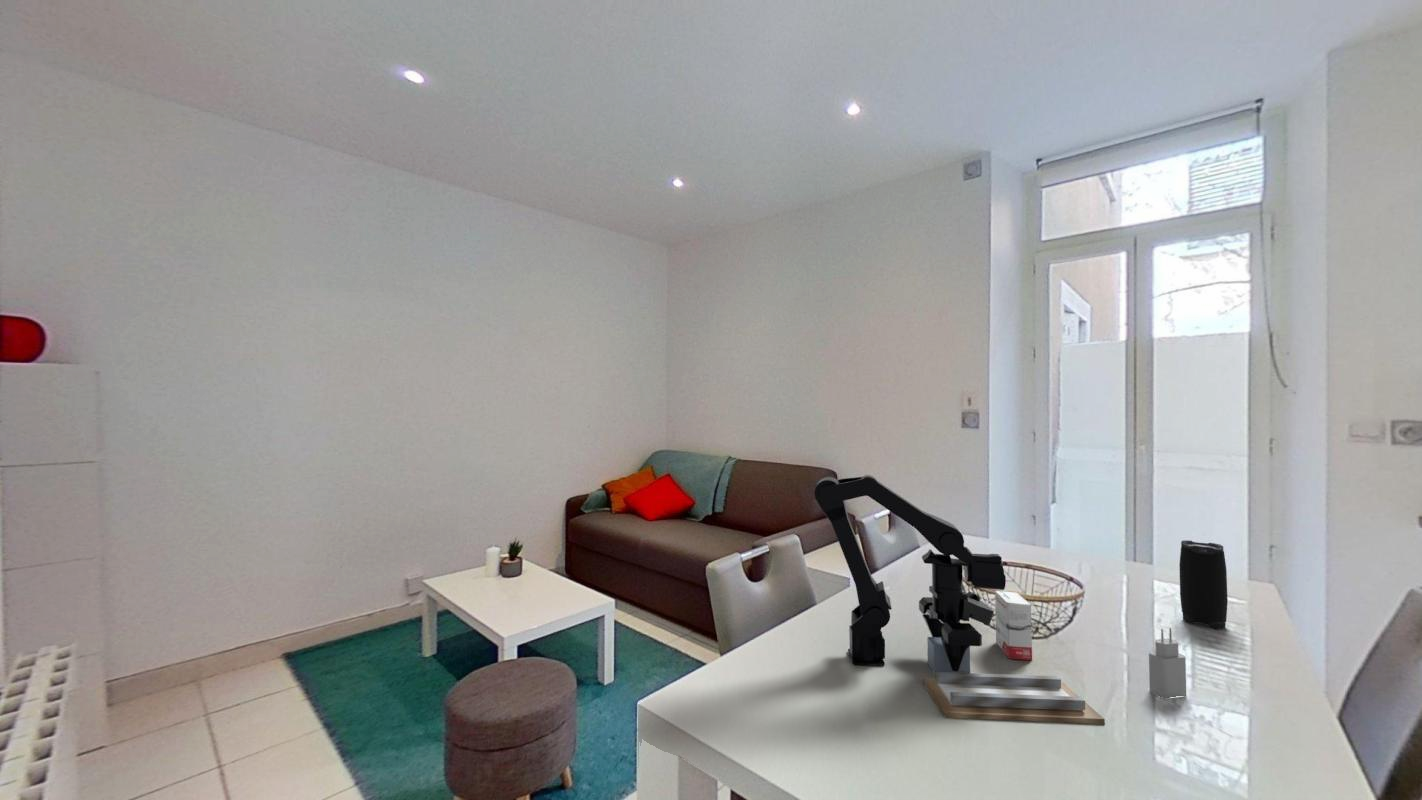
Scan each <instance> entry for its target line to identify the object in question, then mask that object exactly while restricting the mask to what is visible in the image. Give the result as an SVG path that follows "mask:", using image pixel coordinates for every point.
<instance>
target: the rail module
mask: <svg viewBox="0 0 1422 800" xmlns="http://www.w3.org/2000/svg"><path fill="white" fill-rule="evenodd" d="M927 664H928V666H929V667H930V668H931V670H932V672H933V673H935V674H936V672H949V673H971V646H969V647H968V648H967V649H966V651H965V653H964V656H963V659H962V662H961V665H960V668H959V671H953V670H952V668H951V666H950V663H949V660H948V657H947V655H946V652H945V649H944V646H943V643H942V641H941V638H940V637H932V636H927Z"/></svg>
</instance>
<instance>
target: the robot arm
mask: <svg viewBox="0 0 1422 800" xmlns="http://www.w3.org/2000/svg"><path fill="white" fill-rule="evenodd" d="M861 497H868V498H870V499H872V500H873V501H875V502H876V503H878V504H879V505H881V506H882V507H883V508H885V509H886V510H888V511H890V513H892V514H894V515H895V516H897V517H898V518H899V519H901V520H903V521H904V522H905V523H907V524H908V525H910V526H912V527H913V529H916V531H917V532H919V533H920V535H921V536H922V537H923V538H924V539H926V541H927V542H928V543H930V544H931V546H932V547H934V548H935V549H936V550H937V551H938V553H935V552H934V551H933V550H932V549H928V551H927V552H925V554H923V555H921V559H922V561H923V563H924V564H928V565H929V564H930V565H931V578H932V579H931V583H932V584H931V585H929V588H928V589H929V590H928V591H929V592H930V594H932V597H928V596H925V597H921V599H920V600H919V601H918V610H919V611H920V612H921V614H922V618H923V619H924V622H925V624H926V626H927V628H928V631H929V633H930V636H931V637H940V638H941V641H942V643H943V646H944V649H945V652H946V655H947V657H948V660H949V663H950V666H951V668H952V670H953V671H959V668H960V665H961V662H962V659H963V656H964V653H965V651H966V649H967V648H968V647H969V646H970V647H982V646H983V641H982V640H983V638H982V636H983V635H982V634H981V633H980V632H979V630H977V629H976V628H975V627H974V626H973V625H972V624H971V623H969V622H970V619H972V620H974V621H977V622H979V623H982V624H983V625H985V626H988V627H989V626H990V624H991V621H992V619H993V616H994V613H995V609H992V607H990V606H989V605H988V604H986V603H984V602H983V601H981V600H980V596H979V595H977V593H976V592H972V591H968V592H966V593H965V592H964V589H963V575H964V580H965V583H970V586H971V588H973V589H986V590H987V589H988V590H996V591H1004V590H1005V589H1006V583H1007V581H1006V579H1007V577H1006V575H1005V572H1004V571H1005V569H1004V566H1003V562H1002V561H1003V560H1002V559H1003V558H1002V556H1000V555H999V554H998V553H989V554H985V553H984V554H983V553H972V551H971V550H970V549H969V547H967V546H965V540H964V536H963V534H962V532H961V531H960V530H959V529H958V528H957V527H956V526H955V525H954V524H953V523H951V522H950V521H947V520H945V519H943V518H942V517H941V518H940V517H939V516H936V515H933V514H930V513H928V512H926V511H924V510H922V509H920V508H919V507H917V506H916V505H914V504H913V503H911V502H910V501H908V500H907V499H906V498H904V497H902V496H901V495H899V494H898V493H897V492H895V491H894V490H892V489H891V488H889V487H887V486H886V485H884V484H883V483H882V482H880V481H879V480H878V479H876V477H874V476H873V475H870V474H865V475H863V476H858V477H857V476H856V477H846V478H840V479H837V478H835V477H832V476H827V477H826V476H825V477H823V478H821V479H820V480H819V481H818V482H817V484H816V487H815V488H814V498H815V501H816V502H817V504H818V505H819V508H820V509H821V510H822V513H823V514H824V515H825V517H826V518H827V519H828V520H829V522H830V524H831V526H832V528H833V530H834V533H835V536H836V539H837V540H838V544H839V546H840V549H841V552H842V554H843V557H844V559H845V561H846V564H847V566H848V569H849V571H850V574H851V577H852V579H853V582H854V584H855V588H856V594H857V595H856V596H857V600H858V605H857V606H855V608H854V609H853V610H851V616H850V617H851V622H850V625H848V626H849V627H848V628H849V630H848V631H849V634H848V635H849V648H848V649H847V652H848V655H849V657H850V660H851V662H852V664H853V665H859V666H885V664H886V663H885V661H884V660H885V658H886V641H885V638H884V636H883V631H882V628H884V627H886V626H887V625H888V624H889V622H890V619H891V614H890V610H892V605H891V598H890V597H889V595H888V594H887V593H886V592H887V591H886V589H885V585H884V581H880V582H878V583H877V582H876V581H875V579H874V578H873V576H872V574H871V570H870V569H869V567H868V563H867V561H866V559H865V556H864V553H863V551H862V548H861V546H860V544H859V543H860V542H859V541H858V538H857V535H856V534H855V531H854V528H853V526H852V524H851V520H850V517H849V516H848V515H849V514H848V510H847V503H846V501H849V500H852V499H857V498H861ZM951 556H953V557H955V558H951ZM961 621H962V622H961Z"/></svg>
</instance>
